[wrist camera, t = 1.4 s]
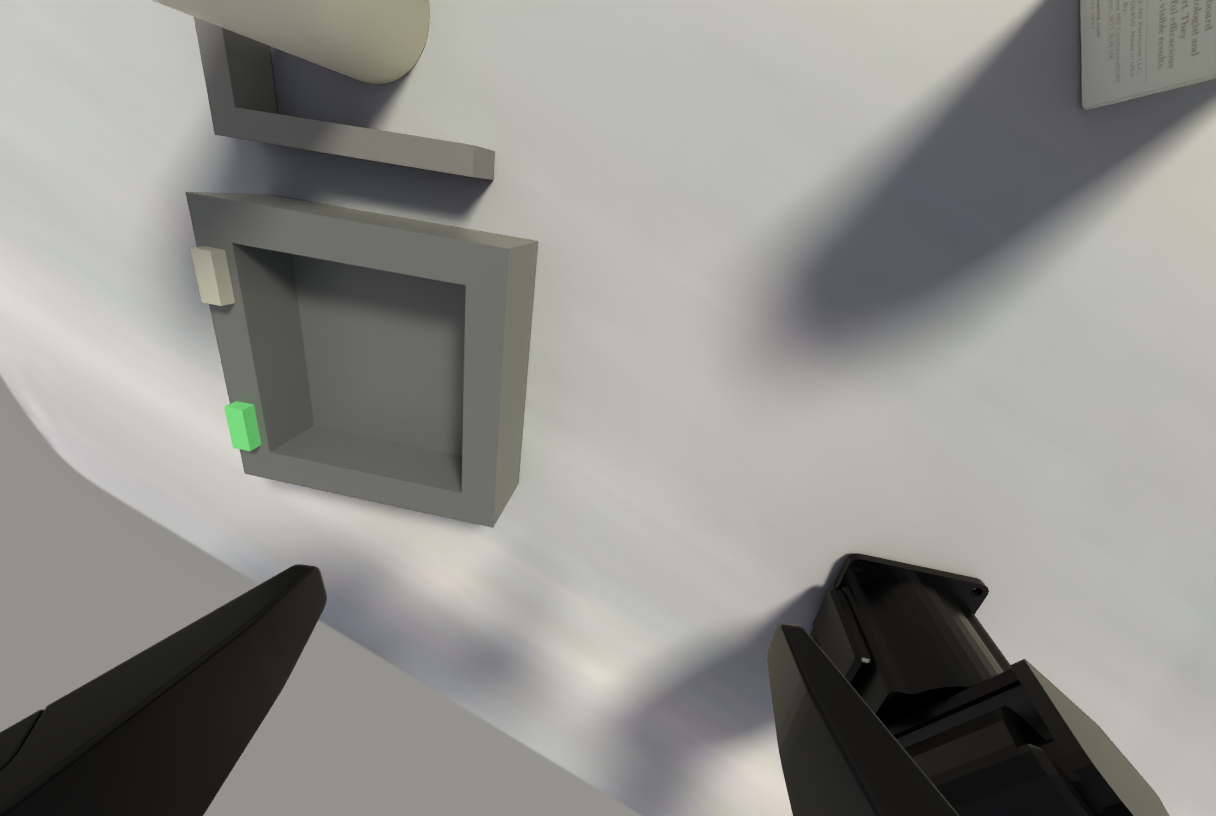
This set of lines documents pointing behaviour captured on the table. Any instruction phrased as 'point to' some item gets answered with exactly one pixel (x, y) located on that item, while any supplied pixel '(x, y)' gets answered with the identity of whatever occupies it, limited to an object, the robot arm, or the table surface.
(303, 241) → the dock
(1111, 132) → the table surface
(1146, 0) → the skincare box
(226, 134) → the grey u-shaped rail
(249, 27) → the plug
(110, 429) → the table surface
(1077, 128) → the table surface
